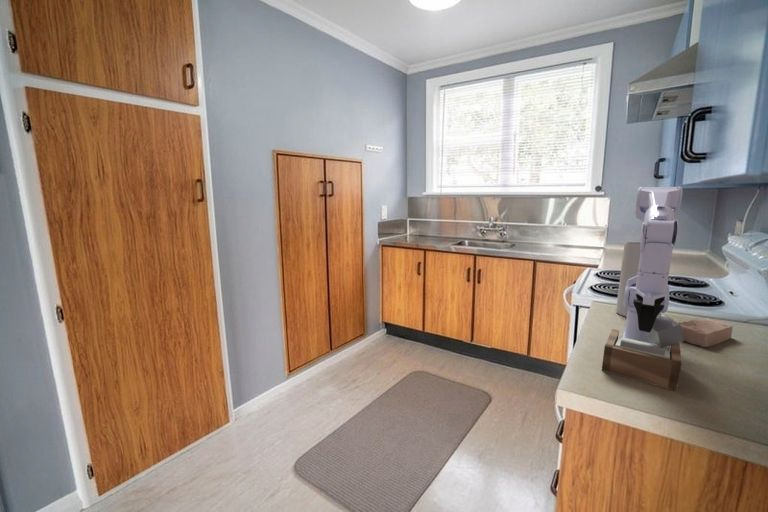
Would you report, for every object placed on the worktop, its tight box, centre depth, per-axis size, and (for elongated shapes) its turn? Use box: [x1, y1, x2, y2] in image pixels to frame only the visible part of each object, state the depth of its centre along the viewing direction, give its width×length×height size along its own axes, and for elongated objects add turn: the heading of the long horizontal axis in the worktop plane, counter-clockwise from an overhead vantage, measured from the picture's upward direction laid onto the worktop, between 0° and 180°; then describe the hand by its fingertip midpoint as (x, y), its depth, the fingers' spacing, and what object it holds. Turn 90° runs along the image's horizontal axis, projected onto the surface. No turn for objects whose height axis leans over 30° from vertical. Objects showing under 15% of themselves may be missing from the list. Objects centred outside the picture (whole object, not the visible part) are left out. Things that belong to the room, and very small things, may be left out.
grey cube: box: [647, 314, 685, 348], centre depth 82 cm, size 4×5×5 cm
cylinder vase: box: [615, 241, 662, 318], centre depth 117 cm, size 12×12×25 cm
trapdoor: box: [615, 336, 670, 359], centre depth 81 cm, size 12×10×2 cm
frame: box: [601, 328, 682, 392], centre depth 81 cm, size 14×14×6 cm
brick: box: [678, 317, 733, 348], centre depth 100 cm, size 17×8×5 cm, turn 116°
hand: (645, 327), depth 82 cm, fingers open, 6 cm apart
